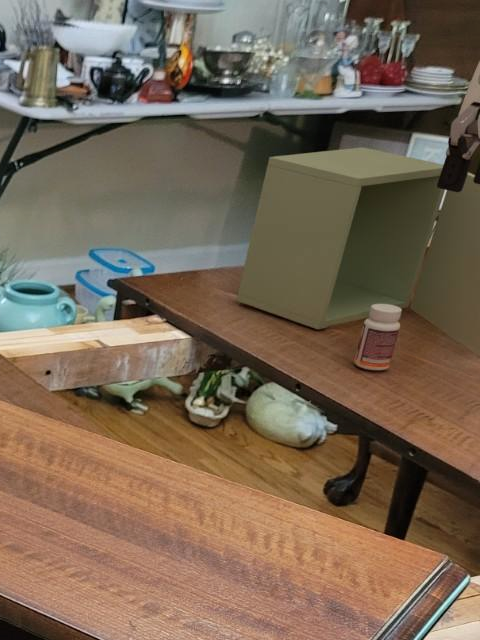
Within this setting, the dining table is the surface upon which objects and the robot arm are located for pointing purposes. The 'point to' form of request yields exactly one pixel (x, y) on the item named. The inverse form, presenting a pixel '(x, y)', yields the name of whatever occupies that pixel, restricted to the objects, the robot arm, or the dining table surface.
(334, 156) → the cupboard
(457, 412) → the dining table surface
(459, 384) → the dining table surface
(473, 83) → the robot arm
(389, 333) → the pill bottle
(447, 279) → the cupboard door
